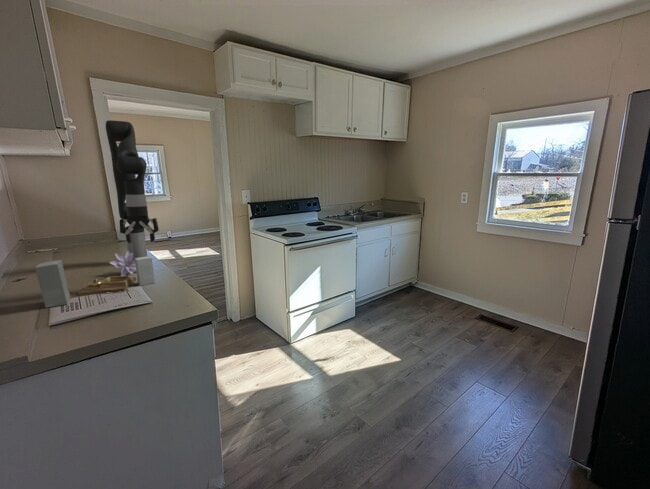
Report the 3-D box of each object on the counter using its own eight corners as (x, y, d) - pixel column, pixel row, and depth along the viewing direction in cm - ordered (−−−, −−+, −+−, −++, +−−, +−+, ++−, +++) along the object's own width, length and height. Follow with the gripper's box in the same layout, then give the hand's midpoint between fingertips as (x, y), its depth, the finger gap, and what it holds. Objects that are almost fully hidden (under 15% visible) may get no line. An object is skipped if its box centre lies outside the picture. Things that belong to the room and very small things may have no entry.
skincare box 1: (67, 304, 113) (60, 264, 109) (42, 309, 109) (33, 266, 106) (71, 297, 120) (64, 258, 116) (47, 301, 116) (39, 261, 113)
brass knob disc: (91, 283, 132) (90, 278, 131) (105, 282, 133) (104, 277, 133) (86, 287, 127) (85, 281, 127) (100, 286, 128) (99, 281, 128)
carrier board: (96, 282, 137) (95, 275, 136) (136, 279, 141) (135, 273, 141) (79, 295, 122) (77, 287, 121) (124, 291, 126) (123, 284, 126)
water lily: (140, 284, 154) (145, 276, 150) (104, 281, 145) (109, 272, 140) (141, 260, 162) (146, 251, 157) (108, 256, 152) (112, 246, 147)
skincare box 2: (152, 280, 140) (149, 255, 137) (155, 283, 137) (152, 257, 135) (137, 283, 136) (134, 258, 133) (140, 286, 133) (136, 259, 130)
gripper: (157, 204, 134) (161, 240, 138) (120, 204, 131) (125, 241, 134) (153, 205, 127) (157, 243, 131) (114, 206, 124) (119, 244, 127)
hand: (141, 242), depth 132 cm, fingers open, 8 cm apart
